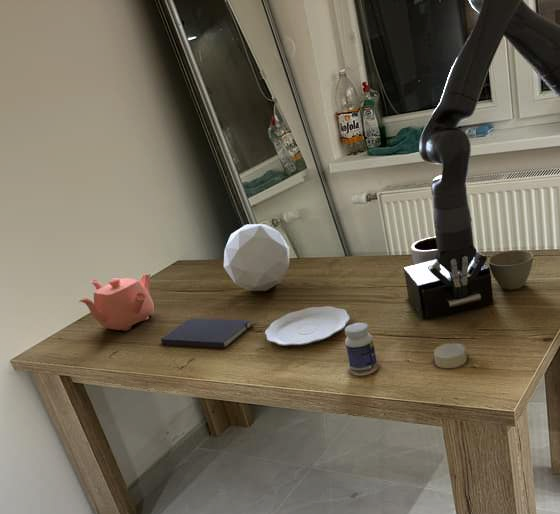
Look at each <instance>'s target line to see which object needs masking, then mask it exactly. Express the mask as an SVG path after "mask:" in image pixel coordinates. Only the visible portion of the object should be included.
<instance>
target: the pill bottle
mask: <svg viewBox="0 0 560 514" xmlns="http://www.w3.org/2000/svg"><path fill="white" fill-rule="evenodd" d="M344 333H345V336H346V338H345V339H344V340H345V341H344V344H345V349H346V354H347V359H348V365H349V369H350V372H351V374H353V375H355V376H358V377H359V376H368V375H371V374H373V373H374V372H376V371H377V369H378V359H377V356H376V350H375V344H374V339H373V336H372V334H371V333H369V326H368V324H367V323H365V322H354V323H352V324H349V325H347V326H345V327H344Z"/></svg>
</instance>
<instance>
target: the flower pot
mask: <svg viewBox="0 0 560 514" xmlns="http://www.w3.org/2000/svg"><path fill="white" fill-rule="evenodd" d="M533 261H534V254H533V253H532V252H530V251H527V250H522V249H518V250H517V249H512V250H506V251H502V252H501V251H500V252H498V253H495V254H493V255H492V256H490V257H488V259H487V262H488V267H489V268H490V273H491V274H492V276H493V278H494V280H495V281H496V283H497V284H498V285H499V286H500V287H501V288H502V289H503V290H506V291H507V290H508V291H513V290H518V289H520V288H523V286H525V284H526V281H527V280H528V279H529V277H530V274H531V270H532V266H533Z"/></svg>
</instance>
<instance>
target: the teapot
mask: <svg viewBox="0 0 560 514" xmlns="http://www.w3.org/2000/svg"><path fill="white" fill-rule="evenodd" d="M90 282H91V284H92V285H93V286H94V287H95V289H96V290H94V292H93V301H92V300H91V299H90V298H82V299H78V300H77V302H79V303H83V304H84V305H86V307H87V308H88V310H89V312H90V314H91V316H92V317H93V318H94V319H95V320H96V321H97V322H98V323H99V324H100V325H101V327H103V328H106V329H110V330H115V331H116V330H117V331H120V330H121V331H122V332H123V331H124V332H125V331H129V330H131V329H132V326H134V325H135V324H138V323H140V322H145V321H147V320H148V319H150V318H149V317H150V316H151V315H152V314H153V313H154V310H155V304H154V300H153V298H152V296H151V294H150V288H151V287H150V284H151V274H150V273H145V274H142V275H141V279H140V280H139V279H136V278H130V277H122V278H120V277H114V278H110V279H109V281H108V284H105V285H102V283H101V282H100V281H98V280H97V279H92V280H90Z"/></svg>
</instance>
